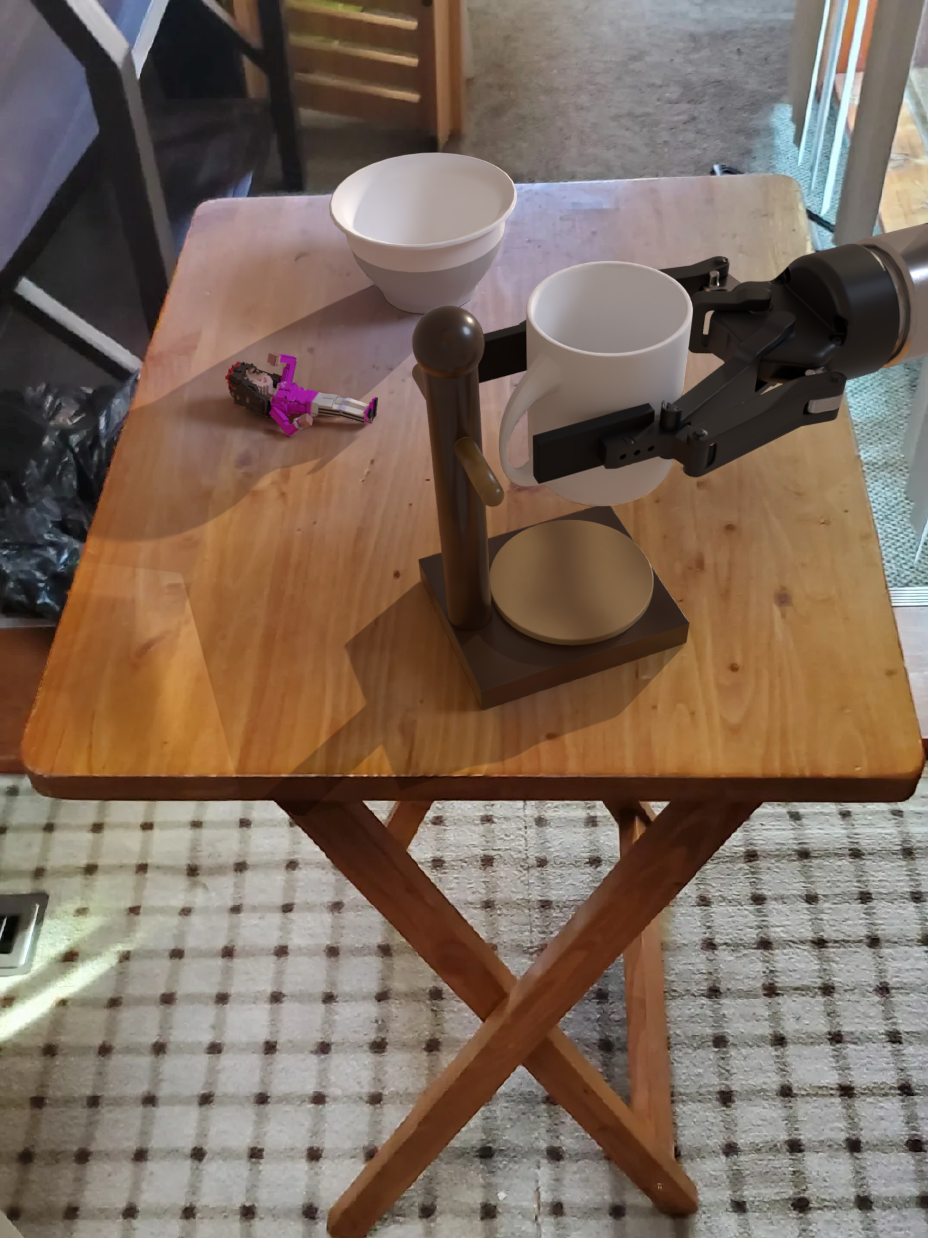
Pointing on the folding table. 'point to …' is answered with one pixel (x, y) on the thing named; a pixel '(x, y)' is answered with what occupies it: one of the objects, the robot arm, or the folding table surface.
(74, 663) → the folding table surface
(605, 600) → the mug stand
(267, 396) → the character figurine
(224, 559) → the folding table surface
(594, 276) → the mug
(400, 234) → the bowl
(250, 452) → the folding table surface
